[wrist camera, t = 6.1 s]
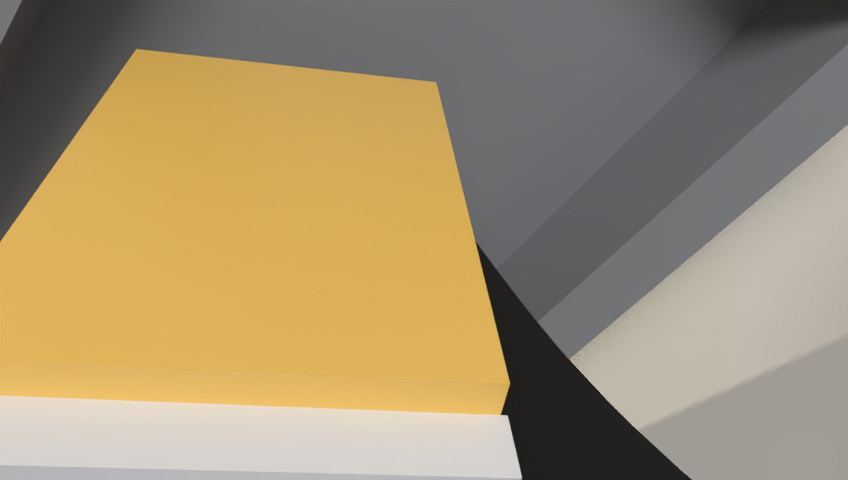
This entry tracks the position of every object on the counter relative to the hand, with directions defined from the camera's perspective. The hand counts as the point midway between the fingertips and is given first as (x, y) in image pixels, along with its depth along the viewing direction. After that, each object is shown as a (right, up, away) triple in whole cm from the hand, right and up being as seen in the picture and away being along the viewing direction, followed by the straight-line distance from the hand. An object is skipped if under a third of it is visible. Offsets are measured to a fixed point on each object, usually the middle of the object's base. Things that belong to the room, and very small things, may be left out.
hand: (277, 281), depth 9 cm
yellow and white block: (0, +1, +1) cm, 1 cm away
